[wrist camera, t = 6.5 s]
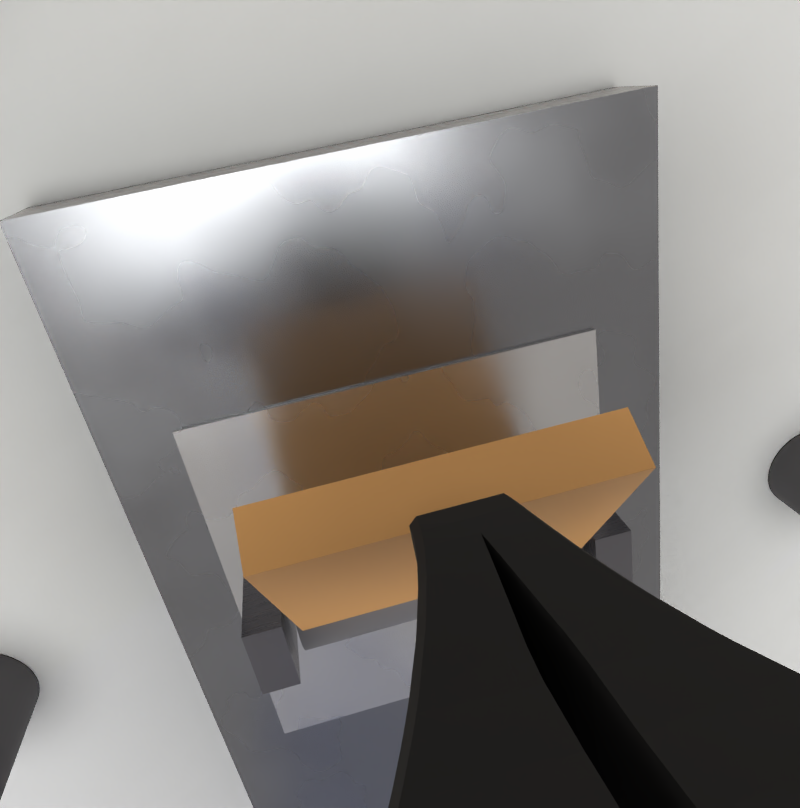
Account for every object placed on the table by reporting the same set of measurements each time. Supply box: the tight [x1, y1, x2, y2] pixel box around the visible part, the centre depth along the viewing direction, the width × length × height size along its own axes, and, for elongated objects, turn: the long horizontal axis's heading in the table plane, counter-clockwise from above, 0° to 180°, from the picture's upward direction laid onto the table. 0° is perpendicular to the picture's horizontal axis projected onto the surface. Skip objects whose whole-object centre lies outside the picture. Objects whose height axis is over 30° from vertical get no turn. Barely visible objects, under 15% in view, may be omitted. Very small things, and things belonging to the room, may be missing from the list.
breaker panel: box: [0, 85, 660, 808], centre depth 16 cm, size 18×12×4 cm, turn 10°
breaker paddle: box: [232, 407, 656, 650], centre depth 13 cm, size 2×6×7 cm
